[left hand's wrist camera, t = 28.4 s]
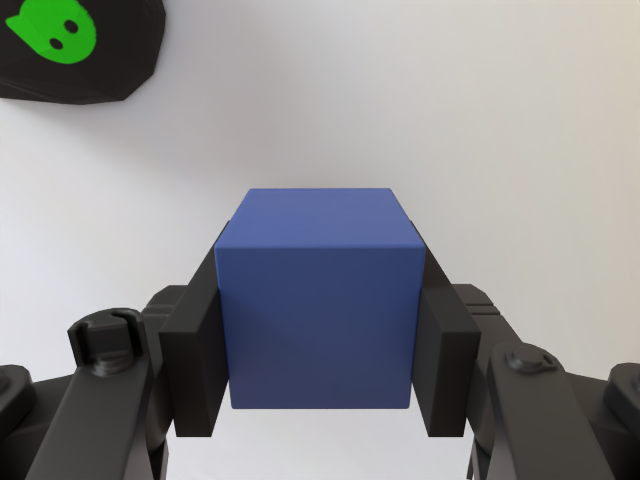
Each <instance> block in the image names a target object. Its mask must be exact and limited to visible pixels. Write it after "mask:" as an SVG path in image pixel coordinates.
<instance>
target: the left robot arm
mask: <svg viewBox="0 0 640 480" xmlns="http://www.w3.org/2000/svg"><path fill="white" fill-rule="evenodd" d="M229 222H230V221H228V222H227V224H226V225H225V227H224V228H223V230H222V232H221V233H220V235H219V236H218V238H217V240H216V241H215V243H214V244H213V246H212V247H211V249H210V251H209V252H208V254H207V255H206V257H205V259H204V260H203V262H202V263H201V265H200V266H199V268H198V270H197V271H196V273H195V274H194V276H193V278H192V279H191V281H190V282H189V284H188V285H169V286H167V287H166V288H164V289H163V290H161V291H159V292H158V293H156V294H155V295H154V296H153V297H152V299H151V300H150V301H149V303H148V304H147V305H146V308H144V309H143V311H142V312H141V313H140V312H139V311H137V310H134V309H130V308H111V309H107V310H102V311H98V312H95V313H93V314H90V315H87V316H85V317H83V318H82V319H80V320H79V321H77V322H75V323H74V324H73V325H72V326H71V327H70V328H69V329H68V331H67V333H68V336H69V340H70V343H71V347H72V351H73V354H74V358H75V361H76V365H77V368H76V371H75V373H74V374H71V375H68V376H64V377H59V378H54V379H49V380H44V381H39V382H35V383H33V382H32V379H31V376H30V373H29V371H28V370H27V369H26V368H24V367H23V366H18V365H12V364H11V365H3V366H0V480H166V472H167V463H168V455H169V452H168V445H167V440H166V434H167V432H168V429H169V427H170V425H171V422H172V420H174V425H175V431H176V437H211V436H212V433H213V429H214V426H215V423H216V419H217V416H218V413H219V409H220V406H221V403H222V399H223V396H224V393H225V389H226V386H227V383H228V370H227V360H226V351H225V342H224V332H223V323H222V314H221V305H220V295H219V287H218V279H217V270H216V260H215V251H214V246H215V244H216V243H217V241H218V239H219V238H220V236H221V235H222V233H223V231H224V230H225V228H226V227H227V225H228V223H229ZM411 223H412V221H411ZM412 224H413V223H412ZM413 226H414V224H413ZM414 228H415V229H416V227H415V226H414ZM416 231H417V232H418V230H417V229H416ZM418 234H419V232H418ZM419 236H420V237H421V235H420V234H419ZM421 239H422V241H423V242H424V240H423V238H422V237H421ZM424 244H425V246H426V252H425V261H424V271H423V281H422V288H421V296H420V306H419V315H418V324H417V334H416V343H415V353H414V362H413V372H412V384H413V387H414V390H415V394H416V397H417V400H418V404H419V407H420V410H421V414H422V417H423V420H424V424H425V427H426V430H427V434H428V437H463V435H464V429H465V424H466V418H467V419H468V421H469V423H470V425H471V428H472V430H473V432H474V440H473V445H472V450H471V455H470V461H469V466H468V472H467V478H466V479H469V480H472V477H473V472H474V480H640V364H637V363H623V364H617V365H616V366H615V367H613V368H612V369H611V372H610V375H609V378H608V381H605V380H600V379H595V378H590V377H585V376H580V375H575V374H572V373H568V372H565V370H564V368H563V366H562V365H561V363H560V362H559V361H558V360H557V358H556V357H554V356H553V355H551V354H550V353H549V352H547V351H546V350H544V349H541V348H539V347H537V346H534V345H532V344H527V343H523V342H522V341H521V339H520V338H519V337H518V336H517V334H516V333H515V332H514V330H513V329H512V328H511V326H510V325H509V324H508V322H507V321H506V320H505V318H504V317H503V316H502V315H500V312H499V311H498V309H497V308H496V307H495V306H494V305H493V303H492V301H491V300H490V299H489V297H488V296H487V295H486V293H484V292H483V291H481V290H479V289H478V288H476V287H475V286H473V285H472V284H451V283H450V281H449V280H448V278H447V276H446V275H445V273H444V272H443V270H442V269H441V267H440V265H439V264H438V262H437V261H436V259H435V257H434V256H433V254H432V253H431V251H430V250H429V248H428V246H427V245H426V243H425V242H424Z"/></svg>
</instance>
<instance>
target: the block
mask: <svg viewBox="0 0 640 480" xmlns="http://www.w3.org/2000/svg"><path fill="white" fill-rule="evenodd" d="M214 251H215V260H216V270H217V279H218V287H219V295H220V305H221V314H222V323H223V332H224V342H225V351H226V360H227V370H228V380H229V389H230V398H231V406H232V408H233V409H407V408H409V405H410V396H411V386H412V372H413V362H414V353H415V343H416V334H417V324H418V315H419V306H420V296H421V288H422V281H423V271H424V261H425V252H426V246H425V244H424V242H423V241H422V239H421V237H420V236H419V234H418V232H417V231H416V229H415V228H414V226H413V224H412V223H411V221H410V220H409V218H408V216H407V215H406V213H405V212H404V210H403V208H402V207H401V205H400V203H399V202H398V200H397V199H396V197H395V195H394V194H393V192H392V191H391V189H389V188H340V189H250V190H249V191H248V193H247V194H246V196H245V198H244V199H243V201H242V202H241V204H240V206H239V207H238V209H237V210H236V212H235V214H234V215H233V217H232V219H231V220H230V222H229V223H228V225H227V227H226V228H225V230H224V231H223V233H222V235H221V236H220V238H219V239H218V241H217V243H216V244H215V246H214Z"/></svg>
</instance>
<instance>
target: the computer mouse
mask: <svg viewBox="0 0 640 480" xmlns="http://www.w3.org/2000/svg"><path fill="white" fill-rule="evenodd" d="M164 24H165V10H164V7H163V3H162V0H0V98H10V99H20V100H31V101H42V102H52V103H60V104H76V105H85V104H94V103H104V102H113V101H123V100H124V99H125V98H127V97H128V96H129V95H130V94H131V93H132V92H133V91H134V90H135V89H137V88H138V87H139V86H140V85H141V84H142V83H143V82H144V81H145V80H147V79H148V78H149V77H150V76H151V75H152V74H153V71H154V68H155V64H156V60H157V56H158V52H159V48H160V44H161V40H162V36H163V32H164Z"/></svg>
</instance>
